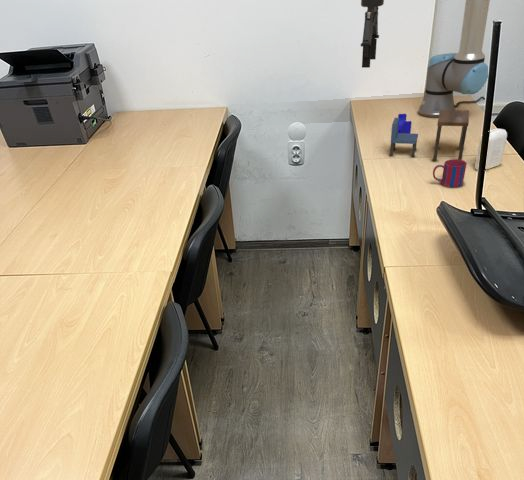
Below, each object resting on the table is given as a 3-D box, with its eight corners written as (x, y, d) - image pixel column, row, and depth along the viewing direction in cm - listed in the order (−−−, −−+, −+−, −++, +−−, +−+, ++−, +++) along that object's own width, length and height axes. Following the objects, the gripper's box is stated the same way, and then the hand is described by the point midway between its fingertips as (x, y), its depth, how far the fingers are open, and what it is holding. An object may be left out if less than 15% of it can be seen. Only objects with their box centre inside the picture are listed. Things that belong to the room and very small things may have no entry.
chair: (389, 156, 194) (392, 124, 186) (391, 149, 199) (394, 117, 192) (414, 157, 191) (418, 124, 184) (416, 150, 197) (420, 118, 190)
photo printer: (492, 161, 183) (499, 124, 175) (502, 164, 180) (510, 127, 172) (472, 169, 179) (479, 131, 171) (482, 172, 176) (490, 134, 168)
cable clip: (393, 129, 218) (394, 114, 214) (404, 128, 218) (405, 113, 214) (398, 138, 209) (400, 122, 205) (409, 137, 208) (411, 122, 205)
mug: (464, 187, 167) (468, 166, 163) (432, 187, 169) (435, 166, 164) (461, 179, 172) (464, 158, 168) (429, 180, 174) (432, 159, 170)
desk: (432, 161, 187) (437, 122, 178) (434, 147, 198) (440, 109, 189) (461, 162, 184) (468, 122, 176) (462, 148, 195) (469, 110, 187)
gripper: (367, -12, 184) (363, 56, 197) (355, -4, 166) (352, 71, 179) (388, -13, 182) (383, 56, 195) (379, -5, 164) (374, 70, 177)
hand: (368, 63), depth 187 cm, fingers open, 13 cm apart
